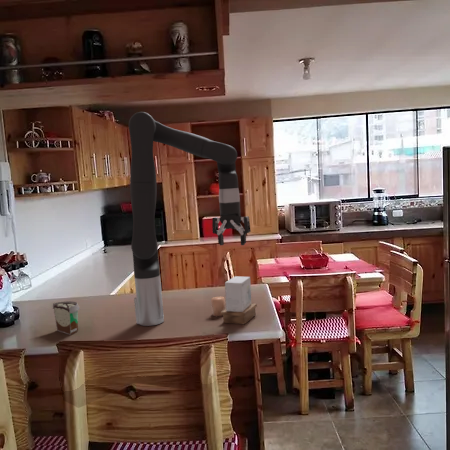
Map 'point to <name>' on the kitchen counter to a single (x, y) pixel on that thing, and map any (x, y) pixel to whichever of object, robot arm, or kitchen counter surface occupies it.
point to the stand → (239, 315)
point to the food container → (66, 316)
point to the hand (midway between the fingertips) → (232, 245)
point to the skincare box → (238, 294)
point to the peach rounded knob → (218, 305)
